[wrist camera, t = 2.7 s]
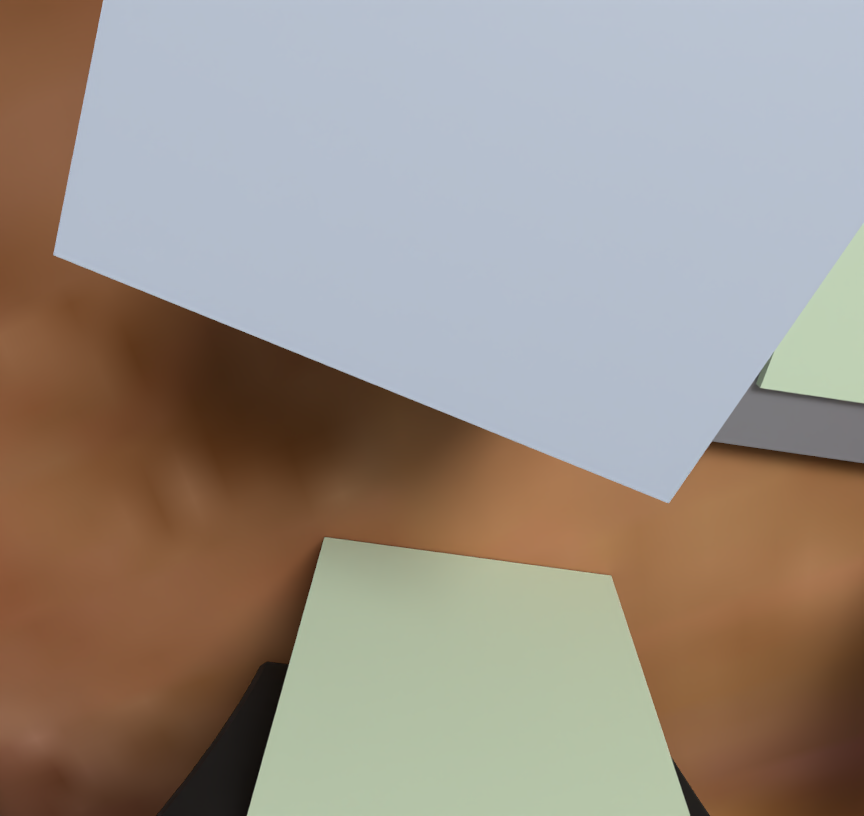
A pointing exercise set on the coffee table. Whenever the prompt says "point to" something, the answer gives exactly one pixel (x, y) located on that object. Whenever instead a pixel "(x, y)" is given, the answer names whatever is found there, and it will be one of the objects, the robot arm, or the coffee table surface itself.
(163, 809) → the robot arm
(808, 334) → the tile
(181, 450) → the coffee table surface
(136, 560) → the coffee table surface
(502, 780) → the sage cube
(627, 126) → the slate blue cube
